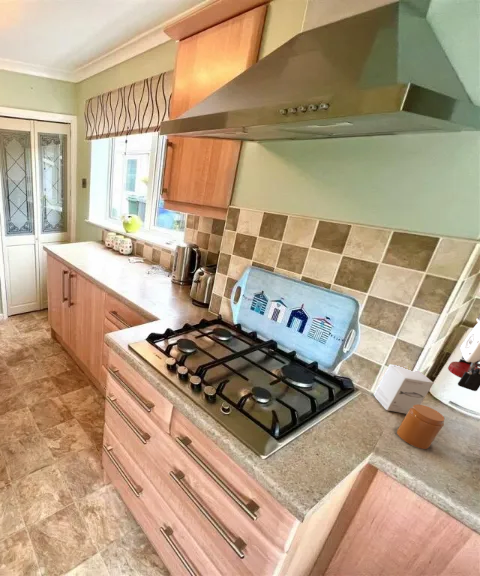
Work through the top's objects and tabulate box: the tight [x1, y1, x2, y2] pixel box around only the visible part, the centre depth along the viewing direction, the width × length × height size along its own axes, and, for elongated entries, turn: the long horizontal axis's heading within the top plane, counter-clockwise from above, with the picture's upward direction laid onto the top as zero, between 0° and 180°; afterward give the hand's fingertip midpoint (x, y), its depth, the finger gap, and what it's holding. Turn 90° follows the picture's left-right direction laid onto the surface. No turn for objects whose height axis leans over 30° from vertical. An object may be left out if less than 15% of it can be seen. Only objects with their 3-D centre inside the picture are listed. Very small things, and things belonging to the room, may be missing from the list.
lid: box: [447, 361, 480, 379], centre depth 78 cm, size 7×7×2 cm
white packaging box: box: [373, 363, 434, 415], centre depth 94 cm, size 7×7×13 cm
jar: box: [396, 404, 445, 450], centre depth 82 cm, size 7×7×10 cm
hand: (464, 380), depth 79 cm, fingers closed on lid, 7 cm apart
